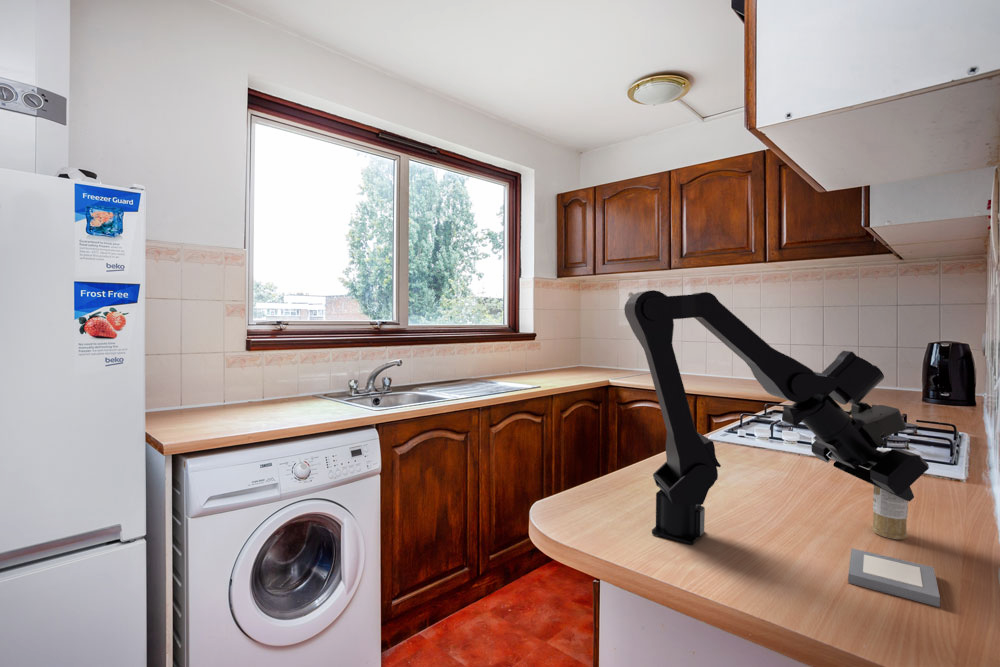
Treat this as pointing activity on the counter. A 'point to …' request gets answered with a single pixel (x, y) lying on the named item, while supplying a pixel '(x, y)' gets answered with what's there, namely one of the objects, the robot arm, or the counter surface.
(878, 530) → the sprinkles bottle
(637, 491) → the counter surface
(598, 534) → the counter surface
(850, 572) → the tile
